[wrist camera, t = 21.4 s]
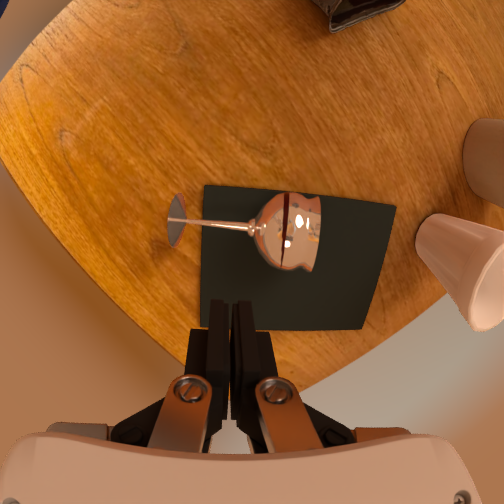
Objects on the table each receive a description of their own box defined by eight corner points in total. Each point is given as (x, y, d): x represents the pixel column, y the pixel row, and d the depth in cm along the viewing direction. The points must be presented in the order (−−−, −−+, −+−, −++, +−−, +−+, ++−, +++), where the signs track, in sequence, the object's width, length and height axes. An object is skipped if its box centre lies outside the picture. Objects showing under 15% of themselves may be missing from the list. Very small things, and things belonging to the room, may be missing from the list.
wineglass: (162, 267, 23) (312, 285, 22) (165, 183, 21) (324, 197, 21) (186, 248, 30) (304, 261, 29) (190, 181, 28) (313, 193, 27)
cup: (411, 190, 28) (494, 230, 16) (467, 203, 29) (540, 241, 17) (391, 272, 32) (452, 338, 20) (447, 274, 33) (507, 327, 21)
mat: (200, 324, 33) (200, 327, 32) (204, 184, 27) (204, 185, 26) (360, 326, 35) (361, 329, 34) (394, 205, 29) (396, 206, 28)
